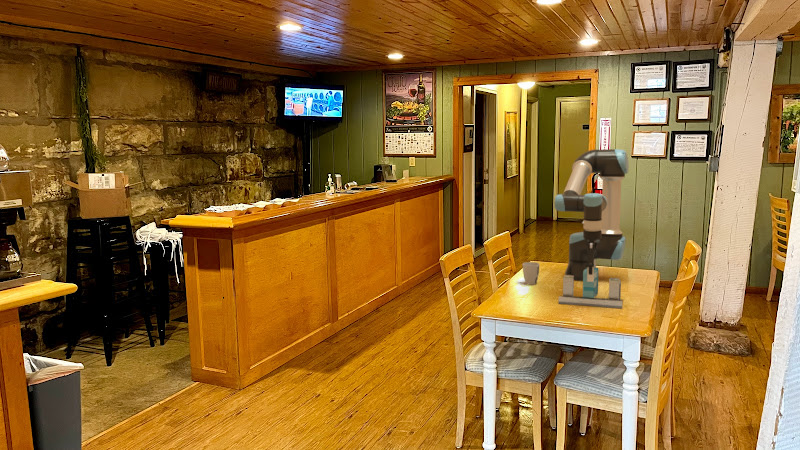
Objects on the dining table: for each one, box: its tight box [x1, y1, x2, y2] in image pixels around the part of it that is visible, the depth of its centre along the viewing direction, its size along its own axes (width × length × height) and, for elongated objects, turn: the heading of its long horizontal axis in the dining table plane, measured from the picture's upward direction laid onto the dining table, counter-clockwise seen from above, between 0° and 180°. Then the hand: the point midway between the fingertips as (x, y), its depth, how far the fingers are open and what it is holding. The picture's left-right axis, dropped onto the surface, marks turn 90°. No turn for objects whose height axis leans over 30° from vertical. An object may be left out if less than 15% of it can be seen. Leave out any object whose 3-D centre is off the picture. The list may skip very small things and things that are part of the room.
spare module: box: [619, 280, 622, 300], centre depth 266 cm, size 5×4×8 cm
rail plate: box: [558, 274, 623, 309], centre depth 262 cm, size 10×26×11 cm, turn 69°
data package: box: [582, 267, 600, 298], centre depth 263 cm, size 12×4×12 cm, turn 153°
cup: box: [522, 261, 540, 286], centre depth 297 cm, size 8×8×10 cm
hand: (591, 277), depth 263 cm, fingers open, 13 cm apart
